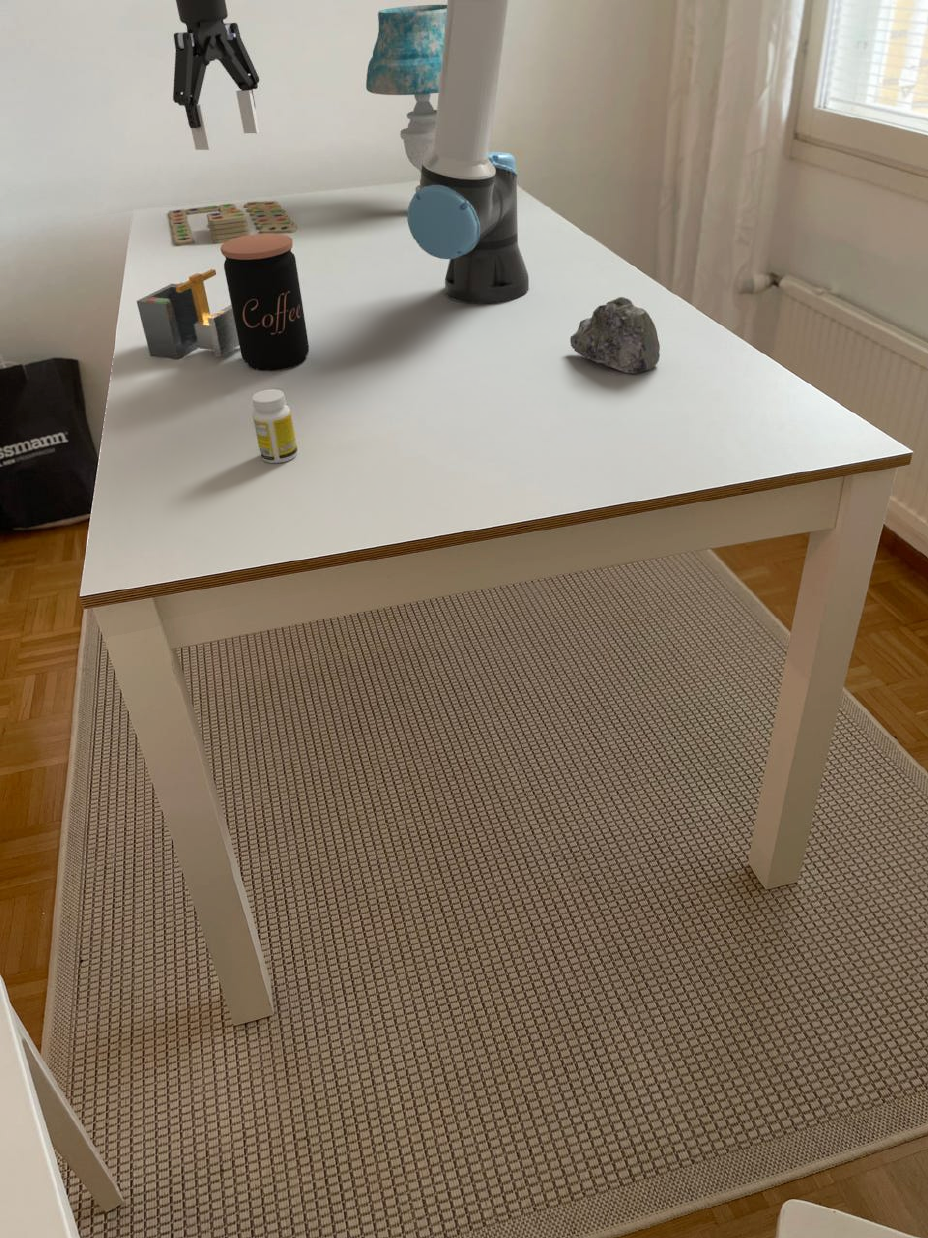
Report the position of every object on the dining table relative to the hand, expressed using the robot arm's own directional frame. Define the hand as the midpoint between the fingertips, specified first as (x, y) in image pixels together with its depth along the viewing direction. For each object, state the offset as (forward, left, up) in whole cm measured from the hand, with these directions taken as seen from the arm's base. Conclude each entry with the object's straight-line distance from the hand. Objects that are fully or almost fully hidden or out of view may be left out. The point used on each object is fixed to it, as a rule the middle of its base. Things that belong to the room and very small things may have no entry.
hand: (228, 140), depth 165 cm
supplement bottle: (-40, +54, -27) cm, 72 cm away
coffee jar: (-20, +25, -27) cm, 42 cm away
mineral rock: (-72, +10, -27) cm, 77 cm away
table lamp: (-5, -64, -27) cm, 70 cm away
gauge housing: (-1, +25, -27) cm, 36 cm away
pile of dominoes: (+39, -47, -28) cm, 67 cm away
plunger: (-10, +25, -26) cm, 37 cm away
